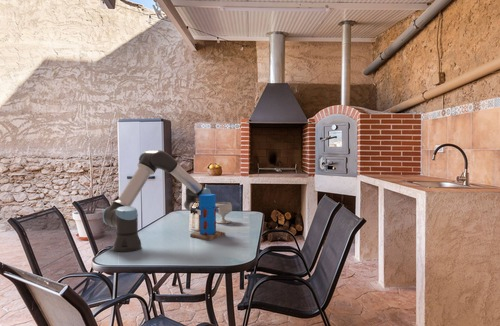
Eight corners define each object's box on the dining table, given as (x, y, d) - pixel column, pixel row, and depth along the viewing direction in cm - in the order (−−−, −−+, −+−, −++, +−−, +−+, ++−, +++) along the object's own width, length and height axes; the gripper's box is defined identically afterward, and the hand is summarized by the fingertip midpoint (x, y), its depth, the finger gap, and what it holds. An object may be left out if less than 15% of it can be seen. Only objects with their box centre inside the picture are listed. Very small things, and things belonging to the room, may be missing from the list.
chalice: (210, 222, 272) (210, 203, 271) (225, 219, 281) (225, 201, 280) (221, 224, 261) (221, 205, 261) (235, 222, 270) (235, 203, 270)
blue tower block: (213, 235, 220) (212, 195, 220) (197, 234, 222) (196, 195, 222) (217, 231, 231) (217, 193, 231) (202, 231, 233) (201, 193, 233)
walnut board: (208, 240, 215) (208, 237, 215) (190, 236, 225) (190, 233, 225) (225, 235, 228) (225, 232, 228) (207, 232, 238) (207, 229, 238)
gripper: (212, 211, 248) (227, 215, 230) (179, 214, 235) (191, 219, 217) (212, 200, 248) (226, 204, 230) (179, 203, 235) (191, 207, 217)
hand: (209, 211), depth 223 cm, fingers open, 13 cm apart
